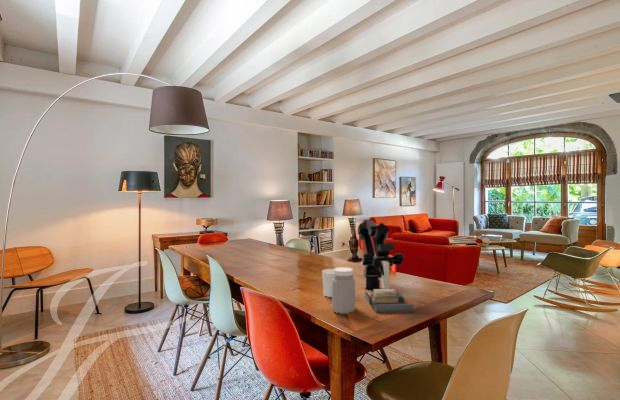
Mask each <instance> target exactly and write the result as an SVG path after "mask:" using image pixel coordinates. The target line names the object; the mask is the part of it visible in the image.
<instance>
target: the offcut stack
mask: <svg viewBox="0 0 620 400" xmlns="http://www.w3.org/2000/svg"><path fill="white" fill-rule="evenodd" d="M396 292H397V291H396V290H395V288H393V289H392V288H391V289H390V288H389V289H384V288H381V289H380V288H379V289H373V290H372V292H371V293H370V297H371V299H372V301H373V302H374V303H385V302H398V299H397V293H396Z"/></svg>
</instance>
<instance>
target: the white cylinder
mask: <svg viewBox="0 0 620 400" xmlns="http://www.w3.org/2000/svg"><path fill="white" fill-rule="evenodd" d="M334 269H335V268H326V269H322V270H321V276H322V290H323V293H322V294H323V296H324V297H325V296H327V297H326V298H330V297H332V279H333V278H334V275H335V274H334Z"/></svg>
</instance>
